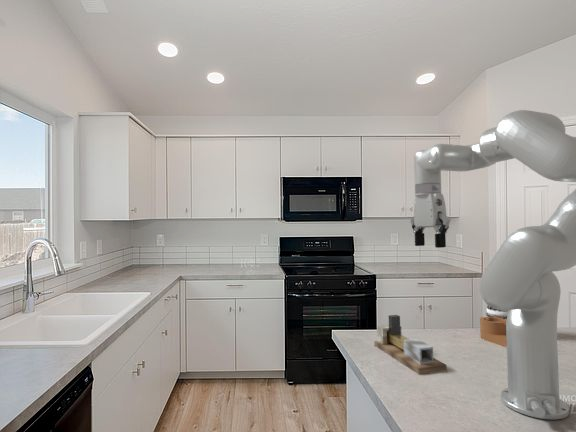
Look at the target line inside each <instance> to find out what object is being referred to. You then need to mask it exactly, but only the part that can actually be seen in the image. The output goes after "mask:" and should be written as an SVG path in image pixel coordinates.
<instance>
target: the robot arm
mask: <svg viewBox="0 0 576 432" xmlns="http://www.w3.org/2000/svg"><path fill="white" fill-rule="evenodd" d="M514 159H515V160H517V161H518V162H520V163H522V164H523V165H525V166H526V167H527V168H529V169H530V170H531V171H533V172H535V173H536V174H538V175H540V176H542V177H543V178H545V179H547V180H551V181H554V182H561V183H563V182H565V183H566V182H567V183H576V136H571V135H570V134H567V133H566V126H565V124H564V122H563V121H562V119H561V118H559V117H558V116H556V115H554V114H551V113H547V112H540V111H534V110H529V109H528V110H527V109H520V110H514V111H512V112H509V113H508V114H506V115H505V116H503V117H502V118H501V119H500V120H499V122H498V123H497V125H496V126H495V127H491V128H487V129H486V130H484V132H482V134H481V135H480V137H479V141H478V142H476V143H472V144H469V145H461V144H460V145H459V144H448V143H436V144H434V145H432V146H430V147H428V148H426V149H421V150H418V151H417V152H415V153H414V156H413V163H414V164H413V165H414V166H413V167H414V170H413V171H414V195H415V197H414V202H413V204H414V206H413V217H412V218H411V219H410V224H411V228H412V230H413V231H412V232H413V234H414V246H416V247H424V246H425V245H426V244H425V243H426V241H425V233H424V230H425V229H426V228H433V230H434V232H435V234H434V246H435V248H438V249H440V248H446V247H447V245H446V244H447V243H446V240H447V239H446V234H447V233H448V230H449V228H450V222H451V218H450V217H449V216H447V208H446V202H445V197H444V194H443V193H442V171H443V172H448V171H449V172H469V171H475V170H479V169H484V168H488V167H491V166H493V165H495V164H496V163H499V162H504V161H508V160H514ZM575 266H576V188H575V189H574V190H572V192H570V193H569V195H567V196H566V197H565V198H564V199H563V200H562V201H561V202H560V203H559V205H558V206H557V208H556V210H555V211H554V212H553V213H552V214H551V216H550V217H549V219H548V220H547V221H546V222H545V223H543V224H541V225H533V226H531V225H530V226H524V227H521V228H519V229H517V230H515V231H513V232H512V233H511V234H510V235H508V236H507V237H506V238H505V240H503V243H501V245H500V247H499V248H498V250H497V252H495V255H494V256H493V258H492V259H491V260H490V262H489V264H488V265H487V267H486V268H485V269H486V270H485V269H484V271H483V273H482V276H481V278H480V282H479V292H480V296H481V298H482V300H483V301H484V302H485V303H486V305H487V304H488V305H489V306H490V307H492V308H494V309H497V310H501V311H508V314H507V320H506V339H507V347H506V361H507V362H506V365H507V386H508V387H507V388H505V389H503V390H502V391H501V392H500V400H501V401H502V403H503V404H504V405H505V406H507V407H509V409H511V410H513V411H514V412H517V413H519V414H522V415H525V416H529V417H532V418H536V419H541V420H552V421H553V420H554V421H555V420H562V419H565V418H567V417H568V416H569V415H570V409H569V408H570V407H569V406H568V404H567V403H566V402H565V401H564V400H563V399H561V398H560V375H559V356H558V355H559V353H558V352H559V351H558V350H559V349H558V313H559V312H558V311H559V306H560V301H561V299H560V298H561V293H562V291H561V284H560V282H559V279H558V277H557V276H556V274H555V273H554V272H559V271H560V272H561V271H565V270H569V269H572V268H574V267H575Z"/></svg>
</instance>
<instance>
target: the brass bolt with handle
mask: <svg viewBox="0 0 576 432" xmlns="http://www.w3.org/2000/svg"><path fill="white" fill-rule="evenodd" d="M388 325H389V331H387V341H389V342H391V343H392V344H394V345H396V346H397V347H399V348H401V349H403V350H404V340H408V339H409V337H407V336H404V335H403V334H402V335H401V334H400V326H401V316H400V315H398V314H391V315H388Z"/></svg>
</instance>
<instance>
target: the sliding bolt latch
mask: <svg viewBox="0 0 576 432" xmlns="http://www.w3.org/2000/svg"><path fill="white" fill-rule="evenodd" d="M387 331H389V324H381V325H377V340H374V346H375V347H376V348H378V349H379V350H381V351H383V353H385V354H387V355H388V356H390V357H392V358H393V359H394V360H396V361H397V362H399V363H400V364H402V365H404V366H406V367H407V368H408V369H410V370H411V371H413V372H415V373H416V374H417V375H424V374H430V373H436V372H443V371H447V364H445V363H443V362H442V361H440V360H438V359H437V358H435V357H434V346H432V345H430V344H428V343H426V342H424V341H422V340H421V339H418V338H408V340H404V350H403V349H401V348H399V347H397V346H396V345H394V344H392V343H391V342H389V341H387ZM400 334H401V335H403V334H402V325H400Z"/></svg>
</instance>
